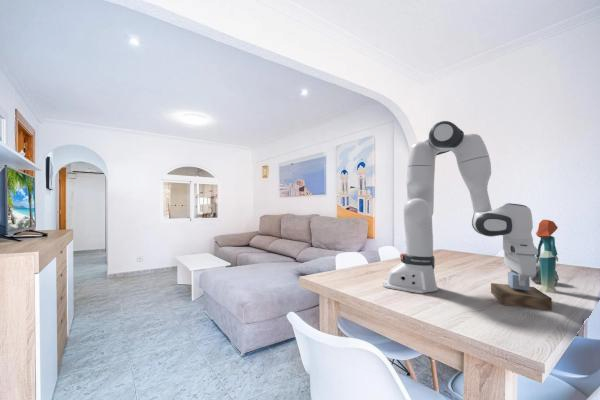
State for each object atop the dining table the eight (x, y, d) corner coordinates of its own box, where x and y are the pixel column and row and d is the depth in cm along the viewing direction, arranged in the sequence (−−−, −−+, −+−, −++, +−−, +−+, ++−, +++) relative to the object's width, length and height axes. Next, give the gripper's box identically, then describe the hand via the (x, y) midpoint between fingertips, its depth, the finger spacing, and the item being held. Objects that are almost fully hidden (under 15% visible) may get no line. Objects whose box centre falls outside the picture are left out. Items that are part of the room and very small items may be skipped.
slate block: (512, 288, 99) (512, 274, 99) (508, 284, 104) (508, 271, 104) (529, 290, 97) (529, 276, 97) (524, 286, 102) (523, 273, 102)
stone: (548, 263, 120) (542, 258, 128) (526, 275, 124) (522, 270, 132) (567, 281, 116) (560, 275, 125) (544, 293, 120) (539, 287, 129)
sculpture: (568, 295, 106) (567, 220, 106) (548, 294, 107) (547, 220, 108) (545, 286, 118) (544, 218, 119) (528, 285, 120) (526, 218, 120)
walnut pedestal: (502, 304, 96) (502, 293, 96) (491, 292, 109) (490, 283, 109) (551, 310, 91) (551, 298, 91) (533, 297, 104) (533, 286, 104)
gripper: (498, 242, 111) (499, 275, 111) (517, 249, 93) (518, 289, 92) (517, 243, 109) (517, 277, 109) (540, 250, 90) (541, 292, 90)
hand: (518, 283), depth 100 cm, fingers closed on slate block, 5 cm apart
